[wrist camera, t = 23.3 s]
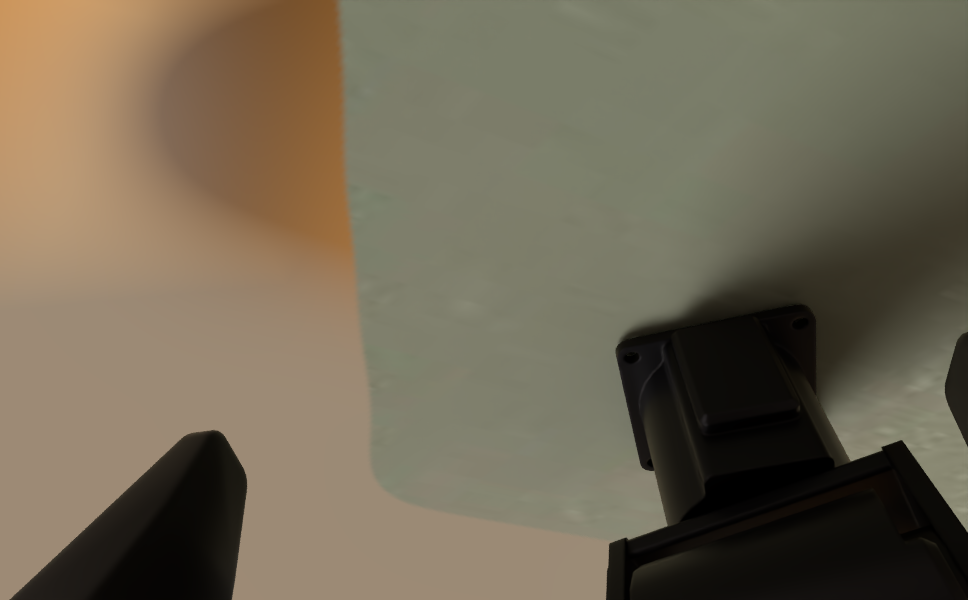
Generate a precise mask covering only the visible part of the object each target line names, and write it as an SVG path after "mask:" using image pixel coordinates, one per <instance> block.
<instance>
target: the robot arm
mask: <svg viewBox="0 0 968 600" xmlns="http://www.w3.org/2000/svg"><path fill="white" fill-rule="evenodd" d="M798 318H802V319H801V320H800V321H798V322H794V321H795V320H796V319H798ZM630 352H635V354H634V355H632V356H627V354H628V353H630ZM616 357H617V361H618V366H619V370H620V375H621V379H622V384H623V388H624V393H625V397H626V402H627V406H628V411H629V415H630V419H631V424H632V428H633V433H634V437H635V442H636V446H637V451H638V455H639V460H640V464H641V466H642V468H644V469H645V470H649V471H655V475H656V479H657V483H658V488H659V492H660V496H661V500H662V504H663V508H664V512H665V517H666V521H667V525H668V526H667V527H664V528H661V529H658V530H656V531H653V532H650V533H647V534H644V535H641V536H638V537H636V538H633V539H630V540H628V539H627V538H623V539H621V540H618V541H615V542H612V543H610V544H609V566H608V570H607V592H606V600H968V532H967V531H966V530H965V528H964V527H963V525H962V524H961V522H960V521H959V520H958V518H957V517H956V515H955V514H954V513H953V511H952V510H951V508H950V507H949V506H948V504H947V503H946V501H945V500H944V499H943V497H942V496H941V494H940V493H939V492H938V490H937V489H936V487H935V486H934V484H933V483H932V482H931V480H930V479H929V477H928V476H927V475H926V473H925V472H924V470H923V469H922V468H921V466H920V465H919V463H918V462H917V461H916V459H915V458H914V456H913V455H912V453H911V452H910V451H909V449H908V448H907V446H906V445H905V444H904V442H903V441H902V440H900V441H897V442H895V443H892V444H889V445H886V446H883V447H882V450H883V451H880V452H877V453H874V454H871V455H868V456H865V457H863V458H860V459H857V460H854V461H850V459H849V457H848V456H847V454H846V452H845V450H844V448H843V446H842V444H841V442H840V441H839V439H838V437H837V435H836V433H835V431H834V429H833V427H832V425H831V424H830V422H829V420H828V418H827V416H826V414H825V412H824V410H823V409H822V407H821V405H820V403H819V401H818V399H817V397H816V319H815V316H814V314H813V313H812V311H811V309H810V308H809V307H808V306H806V305H802V304H798V305H791V306H787V307H782V308H777V309H772V310H767V311H762V312H758V313H753V314H748V315H743V316H738V317H733V318H729V319H724V320H719V321H714V322H709V323H704V324H700V325H695V326H690V327H685V328H680V329H675V330H671V331H666V332H661V333H656V334H651V335H646V336H642V337H637V338H632V339H627V340H625V341H622V342H621V343H620V344H618V346H617V348H616ZM945 395H946V399H947V403H948V405H949V407H950V410H951V412H952V414H953V416H954V418H955V420H956V423H957V425H958V427H959V429H960V431H961V433H962V435H963V438H964V440H965V442H966V444H967V446H968V332H967V333H964V334H962V335H961V336H960V337H959V339H958V340H957V343H956V346H955V350H954V353H953V357H952V361H951V364H950V368H949V371H948V375H947V379H946V383H945ZM651 458H652V459H651ZM246 493H247V478H246V474H245V471H244V469H243V467H242V465H241V463H240V462H239V460H238V458H237V456H236V455H235V453H234V451H233V450H232V448H231V446H230V444H229V443H228V441H227V440H226V438H225V436H224V435H223V434H222V433H221V432H219V431H215V430H211V431H204V432H196V433H191V434H188V435H186V436H184V437H183V438H182V439H181V440H180V441H179V442H177V443H176V444H175V445H174V446H173V447H172V448H171V449H170V450H169V451H168V452H167V453H166V454H165V455H164V456H163V457H161V458H160V459H159V460H158V461H157V462H156V463H155V464H154V465H153V466H152V467H151V468H150V469H149V470H148V471H147V472H146V473H144V475H142V476H141V477H140V478H139V479H138V480H137V481H136V482H135V483H134V484H133V485H132V486H131V487H130V488H128V489H127V490H126V491H125V492H124V493H123V494H122V495H121V496H120V497H119V498H118V499H117V500H116V501H115V502H114V503H112V504H111V505H110V506H109V507H108V508H107V509H106V510H105V511H104V512H103V513H102V514H101V515H100V516H99V517H97V518H96V519H95V520H94V521H93V522H92V523H91V524H90V525H89V526H88V527H87V528H86V529H85V530H84V531H83V532H82V533H80V534H79V535H78V536H77V537H76V538H75V539H74V540H73V541H72V542H71V543H70V544H69V545H68V546H67V547H66V548H64V549H63V550H62V551H61V552H60V553H59V554H58V555H57V556H56V557H55V558H54V559H53V560H52V561H51V562H50V563H48V564H47V565H46V566H45V567H44V568H43V569H42V570H41V571H40V572H39V573H38V574H37V575H36V576H35V577H34V578H32V579H31V580H30V581H29V582H28V583H27V584H26V585H25V586H24V587H23V588H22V589H21V590H20V591H19V592H17V593H16V594H15V595H14V596H13V597H12V598H11V599H10V600H232V595H233V588H234V582H235V575H236V568H237V560H238V553H239V545H240V537H241V530H242V522H243V515H244V508H245V500H246Z"/></svg>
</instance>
